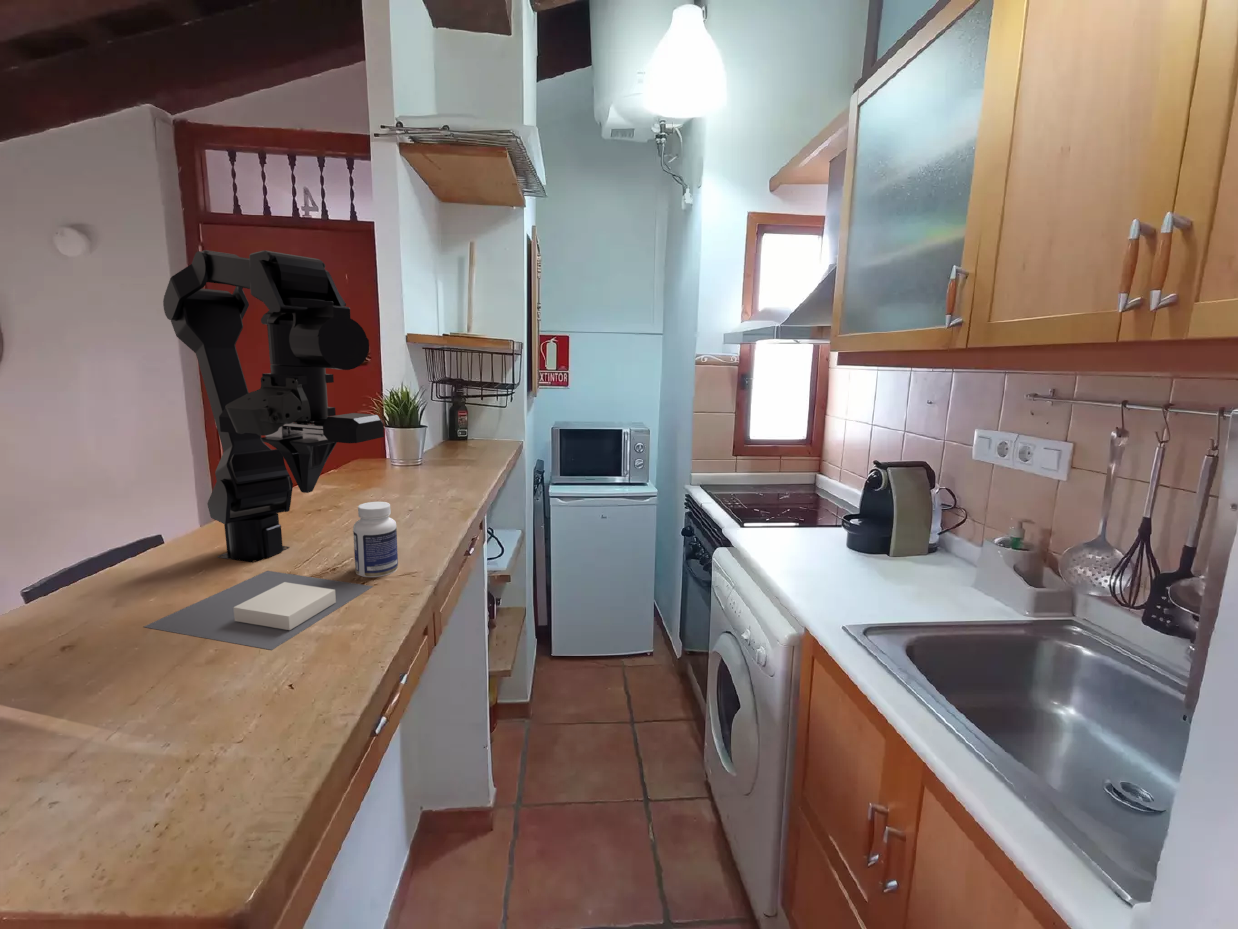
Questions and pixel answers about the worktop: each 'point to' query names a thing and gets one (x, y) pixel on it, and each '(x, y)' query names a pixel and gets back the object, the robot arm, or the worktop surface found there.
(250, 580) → the mat
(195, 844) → the worktop surface
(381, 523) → the pill bottle
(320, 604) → the tile
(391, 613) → the worktop surface
